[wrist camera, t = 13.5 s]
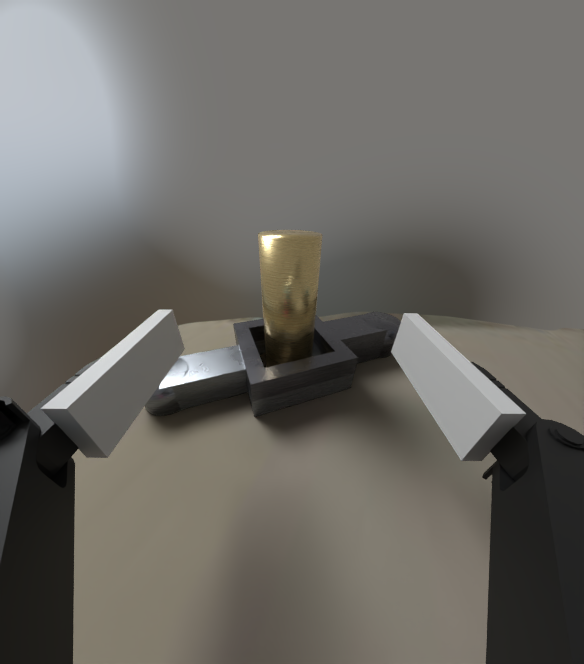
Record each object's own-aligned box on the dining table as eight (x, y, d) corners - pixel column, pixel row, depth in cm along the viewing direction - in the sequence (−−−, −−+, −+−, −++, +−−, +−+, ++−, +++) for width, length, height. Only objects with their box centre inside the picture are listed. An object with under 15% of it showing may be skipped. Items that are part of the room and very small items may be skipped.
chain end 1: (309, 336, 30) (311, 317, 28) (350, 387, 22) (355, 365, 20) (154, 367, 24) (144, 346, 22) (132, 453, 16) (115, 429, 14)
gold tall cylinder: (300, 351, 27) (306, 229, 19) (318, 377, 23) (334, 237, 15) (262, 359, 25) (252, 230, 18) (273, 389, 21) (267, 240, 14)
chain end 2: (364, 325, 32) (370, 301, 30) (418, 367, 25) (430, 339, 22) (237, 351, 27) (233, 323, 24) (254, 416, 19) (250, 384, 17)
